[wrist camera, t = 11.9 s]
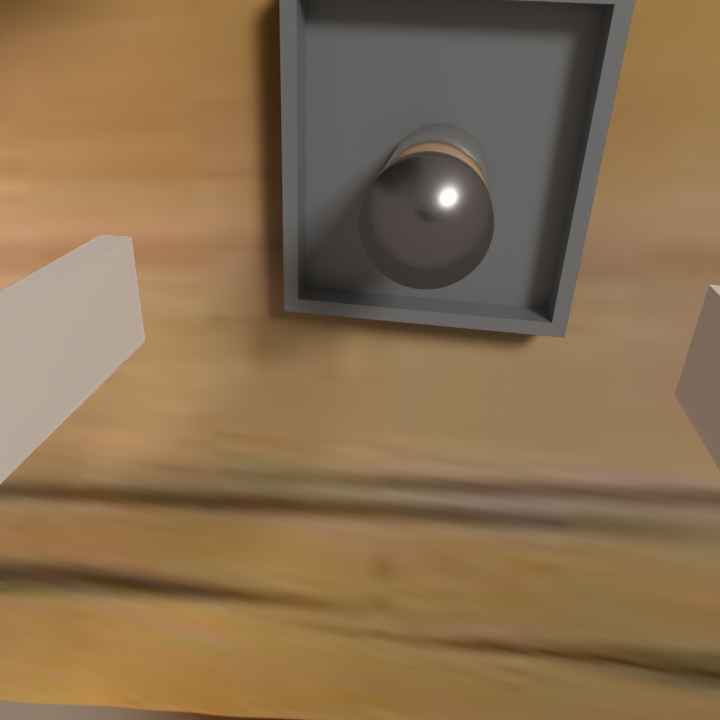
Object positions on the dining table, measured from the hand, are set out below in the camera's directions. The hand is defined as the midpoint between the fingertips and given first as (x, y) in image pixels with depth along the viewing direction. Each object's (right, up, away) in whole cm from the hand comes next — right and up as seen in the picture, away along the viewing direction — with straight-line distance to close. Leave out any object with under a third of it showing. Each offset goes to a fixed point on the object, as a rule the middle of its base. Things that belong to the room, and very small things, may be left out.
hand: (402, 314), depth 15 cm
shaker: (+3, +9, +19) cm, 21 cm away
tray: (+3, +9, +19) cm, 21 cm away
